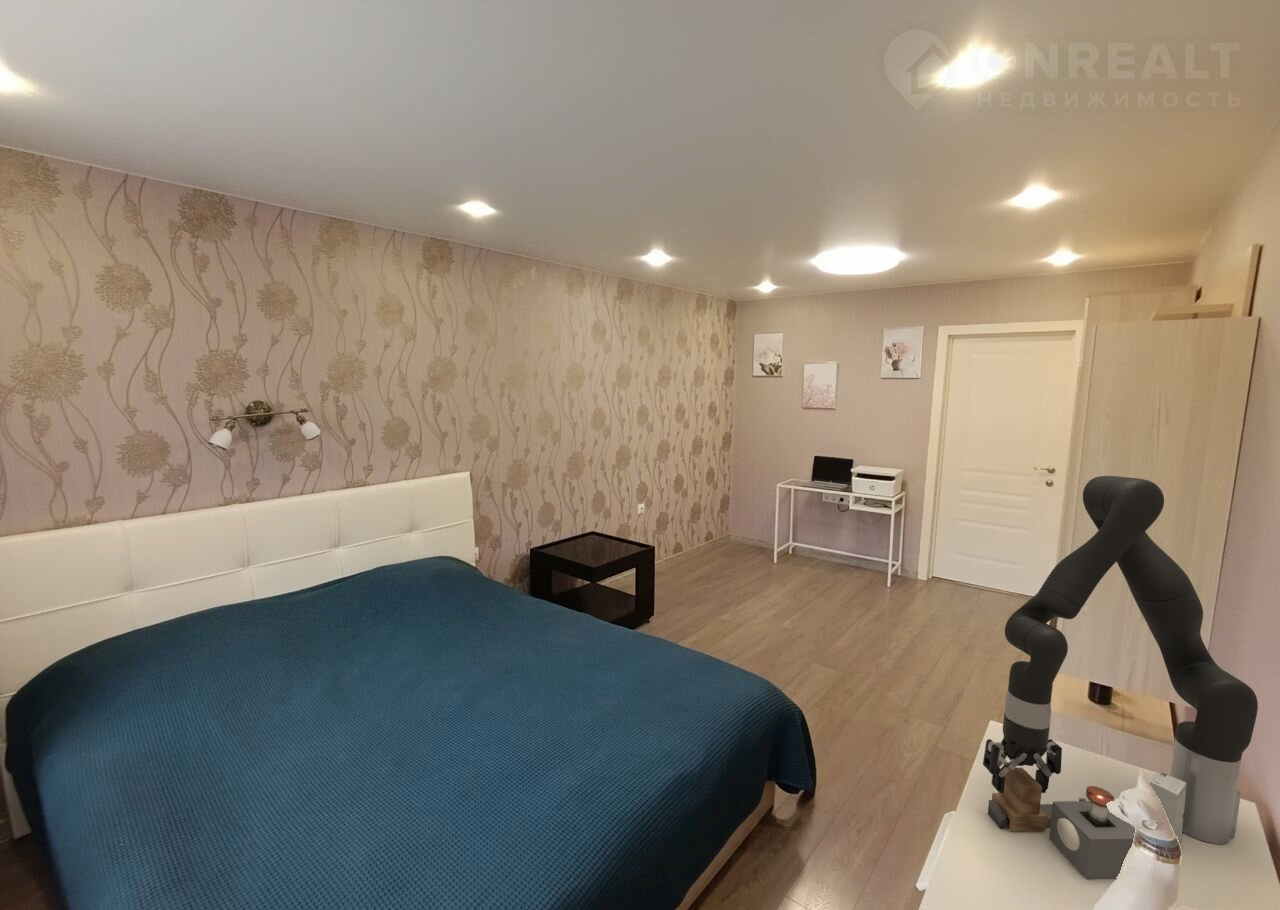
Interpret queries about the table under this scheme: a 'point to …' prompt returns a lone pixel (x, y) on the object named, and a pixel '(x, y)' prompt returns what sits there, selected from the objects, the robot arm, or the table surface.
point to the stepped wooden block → (1022, 801)
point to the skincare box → (1171, 799)
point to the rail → (1003, 820)
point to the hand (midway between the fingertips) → (1019, 790)
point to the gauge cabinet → (1090, 839)
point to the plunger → (1098, 805)
